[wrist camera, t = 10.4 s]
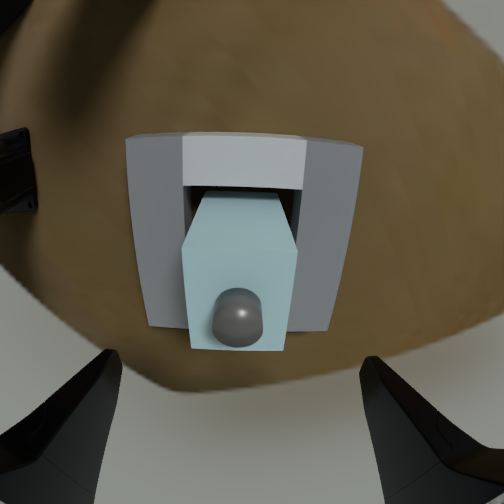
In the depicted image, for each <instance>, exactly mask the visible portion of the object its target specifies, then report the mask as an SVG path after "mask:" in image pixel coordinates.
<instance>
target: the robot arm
mask: <svg viewBox="0 0 504 504" xmlns="http://www.w3.org/2000/svg"><path fill="white" fill-rule="evenodd" d="M22 133H23V134H24V135H22ZM31 203H32V205H31ZM36 208H37V199H36V193H35V187H34V180H33V172H32V164H31V154H30V141H29V131H28V129H27V128H26V127H24V128H20V129H16V130H13V131H9V132H6V133H3V134H0V215H1V214H3V213H8V212H25V211H33V210H34V209H36ZM121 375H122V363H121V360H120V357H119V355H118V352H117V351H116V350H114V349H105V350H104V351H102V352H101V353H100V354H99V355H98V356H97V357H95V358H94V359H93V360H92V361H91V362H90V363H88V364H87V365H86V366H85V367H84V368H83V369H81V370H80V371H79V372H78V373H77V374H76V375H74V376H73V377H72V378H71V379H70V380H69V381H67V382H66V383H65V384H64V385H63V386H62V387H61V388H59V389H58V390H57V391H56V392H55V393H54V394H52V395H51V396H50V397H49V398H48V399H47V400H46V401H45V403H42V404H41V405H40V406H39V407H38V408H36V409H35V410H34V411H33V412H32V413H30V414H29V415H28V416H27V417H25V418H24V419H22V420H21V421H20V422H18V423H17V424H16V425H14V426H13V427H11V428H10V429H9V430H7V431H6V432H4V433H3V434H1V435H0V504H94V498H95V493H96V487H97V483H98V478H99V473H100V468H101V464H102V459H103V455H104V451H105V447H106V443H107V439H108V435H109V431H110V427H111V423H112V420H113V416H114V412H115V408H116V404H117V399H118V393H119V387H120V381H121ZM359 377H360V384H361V391H362V397H363V405H364V411H365V415H366V419H367V423H368V427H369V431H370V436H371V440H372V444H373V448H374V452H375V457H376V462H377V466H378V471H379V475H380V480H381V485H382V490H383V495H384V500H385V504H504V449H493V448H488V447H486V446H484V445H482V444H480V443H479V442H477V441H476V440H474V439H473V438H472V437H470V436H469V435H468V434H466V433H465V432H464V431H462V430H461V429H459V428H458V427H457V426H456V425H454V424H453V423H452V422H451V421H449V420H448V419H447V418H446V417H445V416H444V415H442V414H441V413H440V412H439V411H437V409H436V408H435V407H434V406H432V405H431V404H430V403H429V402H428V401H427V400H426V399H424V398H423V397H422V396H421V395H420V394H419V393H418V392H417V391H416V390H415V389H414V388H412V387H411V386H410V385H409V384H408V383H407V382H406V381H405V380H404V379H402V378H401V377H400V376H399V375H398V374H397V373H396V372H394V371H393V370H392V369H391V368H390V367H389V366H388V365H387V364H386V363H385V362H383V361H382V360H381V359H380V358H379V357H378V356H367V357H366V358H365V360H364V362H363V364H362V367H361V369H360V372H359Z"/></svg>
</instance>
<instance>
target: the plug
mask: <svg viewBox="0 0 504 504" xmlns="http://www.w3.org/2000/svg"><path fill="white" fill-rule="evenodd" d="M181 249H182V263H183V275H184V286H185V297H186V306H187V316H188V325H189V333H190V341H191V348H194V349H213V350H244V351H283V348H284V342H285V336H286V330H287V323H288V317H289V311H290V304H291V297H292V291H293V284H294V276H295V269H296V262H297V254H298V250H297V247H296V245H295V242H294V239H293V236H292V233H291V230H290V227H289V225H288V222H287V219H286V216H285V213H284V211H283V208H282V205H281V202H280V200H279V197H278V194H277V193H267V192H240V191H206V192H205V194H204V196H203V198H202V201H201V203H200V205H199V207H198V210H197V212H196V214H195V217H194V219H193V221H192V224H191V226H190V229H189V231H188V233H187V236H186V238H185V241H184V243H183V245H182V248H181Z"/></svg>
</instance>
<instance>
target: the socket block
mask: <svg viewBox="0 0 504 504" xmlns="http://www.w3.org/2000/svg"><path fill="white" fill-rule="evenodd" d="M363 148H364V147H361V146H359V145H356V144H354V143H351V142H347V141H340V140H332V139H324V138H315V137H305V136H294V135H281V134H265V133H243V132H172V133H151V134H139V135H136V136H133V137H130V138H127V139H126V160H127V176H128V189H129V200H130V210H131V219H132V228H133V236H134V243H135V251H136V257H137V264H138V270H139V276H140V282H141V288H142V293H143V298H144V304H145V309H146V314H147V318H148V323H149V326H156V327H169V328H184V329H189V325H188V316H187V306H186V297H185V286H184V275H183V263H182V249H181V248H182V245H183V243H184V241H185V238H186V236H187V233H188V231H189V229H190V226H191V224H192V209H191V186H239V187H265V188H284V189H294V195H293V205H292V215H291V225H290V230H291V233H292V236H293V239H294V242H295V245H296V247H297V250H298V254H297V262H296V269H295V276H294V284H293V291H292V297H291V304H290V311H289V317H288V323H287V330H286V332H288V331H327V330H328V326H329V322H330V319H331V315H332V311H333V307H334V303H335V299H336V295H337V291H338V287H339V283H340V278H341V274H342V269H343V265H344V260H345V256H346V251H347V246H348V241H349V236H350V231H351V226H352V220H353V215H354V209H355V203H356V197H357V191H358V184H359V178H360V171H361V164H362V156H363Z"/></svg>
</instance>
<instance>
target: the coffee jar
mask: <svg viewBox="0 0 504 504" xmlns="http://www.w3.org/2000/svg"><path fill="white" fill-rule="evenodd" d="M28 1H29V0H0V33H1V32H2V31H4V30H5V29H6V28H7V27H8V26H9V25H10V24H11V22H12V21H13V20H14V19H15V18H16V17H17V16H18V15H19V13H20V12H21V10H22V9H23V8H24V6H25V5H26V3H27V2H28Z"/></svg>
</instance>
